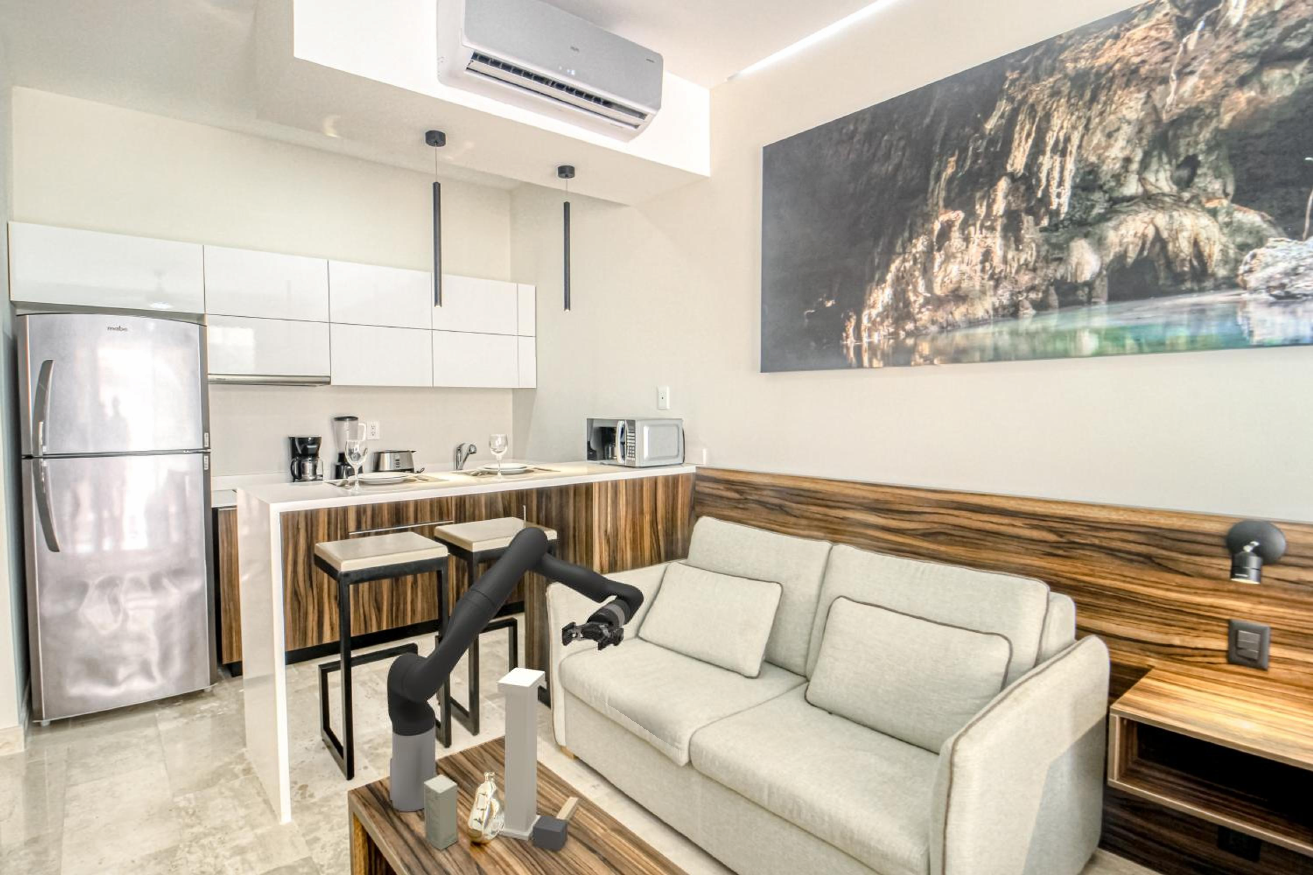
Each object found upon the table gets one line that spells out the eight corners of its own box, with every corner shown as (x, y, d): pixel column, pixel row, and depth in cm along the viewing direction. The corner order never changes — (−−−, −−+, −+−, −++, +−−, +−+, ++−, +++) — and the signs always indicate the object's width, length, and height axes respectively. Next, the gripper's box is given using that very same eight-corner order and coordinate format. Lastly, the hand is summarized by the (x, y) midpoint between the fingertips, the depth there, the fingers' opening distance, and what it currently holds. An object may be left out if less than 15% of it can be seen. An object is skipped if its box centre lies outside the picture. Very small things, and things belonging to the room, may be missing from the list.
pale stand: (526, 841, 138) (528, 686, 136) (496, 835, 139) (497, 682, 138) (543, 818, 145) (545, 671, 144) (514, 813, 147) (515, 667, 145)
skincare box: (458, 841, 137) (459, 784, 137) (439, 851, 134) (439, 793, 133) (442, 828, 142) (442, 772, 141) (423, 838, 138) (423, 781, 138)
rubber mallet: (559, 850, 135) (559, 832, 135) (532, 845, 137) (532, 826, 136) (586, 808, 150) (586, 790, 149) (561, 803, 151) (562, 786, 151)
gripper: (579, 604, 169) (553, 624, 153) (633, 610, 165) (611, 631, 149) (579, 633, 169) (552, 656, 153) (632, 640, 165) (610, 664, 150)
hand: (581, 643), depth 151 cm, fingers open, 8 cm apart
